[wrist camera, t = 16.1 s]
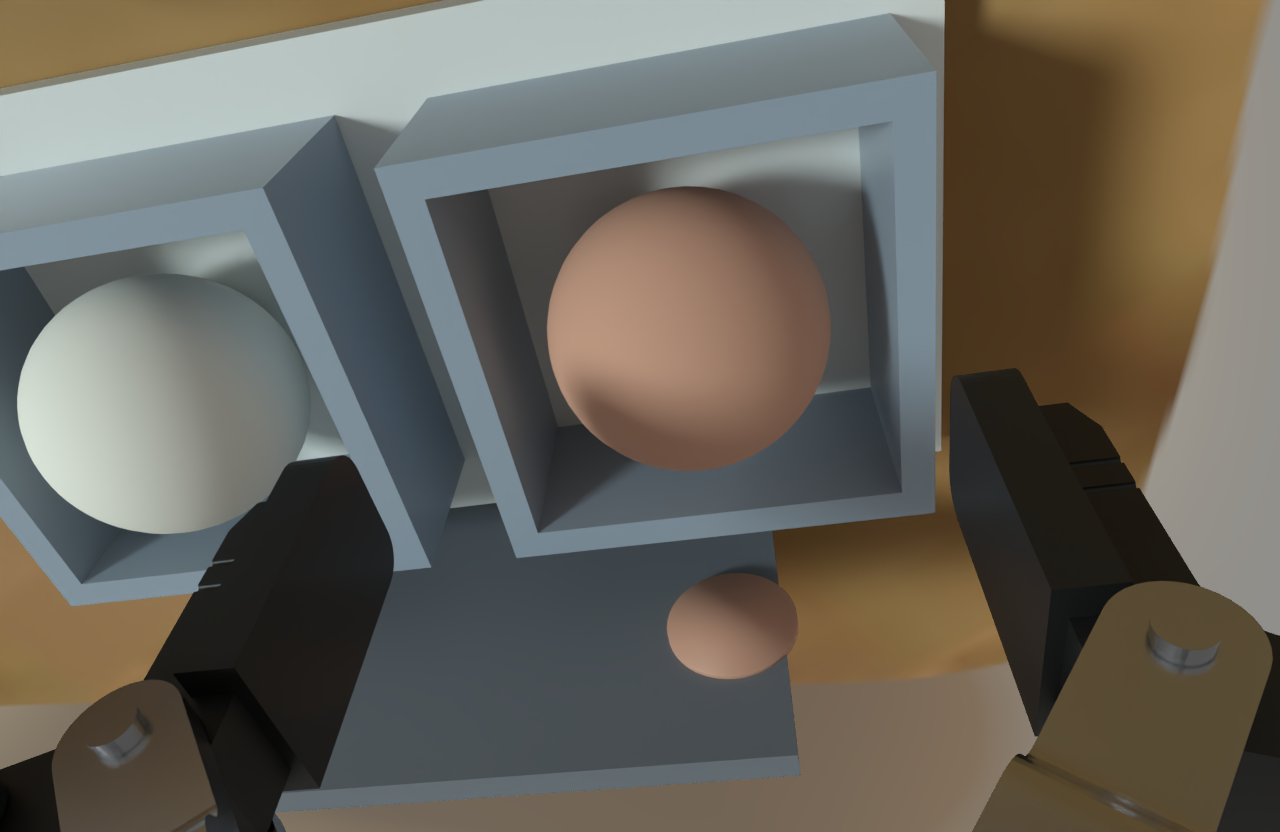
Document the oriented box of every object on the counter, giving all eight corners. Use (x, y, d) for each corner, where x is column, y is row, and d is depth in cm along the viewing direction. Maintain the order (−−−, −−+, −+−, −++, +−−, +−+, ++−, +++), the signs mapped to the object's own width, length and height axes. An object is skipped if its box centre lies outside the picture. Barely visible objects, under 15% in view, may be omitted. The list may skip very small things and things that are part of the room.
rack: (-115, 111, 18) (-309, 196, 14) (934, -98, 15) (1009, -54, 12) (157, 523, 24) (68, 652, 21) (933, 429, 21) (982, 560, 18)
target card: (291, 514, 24) (143, 799, 17) (776, 456, 22) (814, 748, 15) (303, 535, 24) (163, 820, 18) (779, 480, 22) (817, 773, 16)
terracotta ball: (536, 168, 17) (490, 295, 13) (803, 122, 16) (841, 242, 12) (592, 385, 20) (568, 544, 16) (822, 354, 19) (858, 513, 15)
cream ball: (63, 247, 19) (-117, 387, 15) (288, 212, 18) (162, 351, 14) (180, 437, 21) (57, 598, 17) (378, 415, 21) (296, 578, 17)
